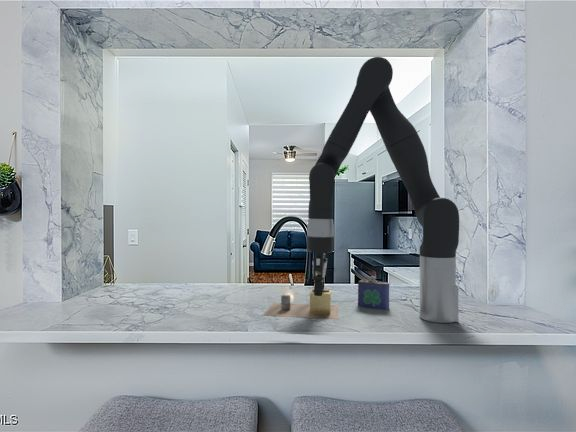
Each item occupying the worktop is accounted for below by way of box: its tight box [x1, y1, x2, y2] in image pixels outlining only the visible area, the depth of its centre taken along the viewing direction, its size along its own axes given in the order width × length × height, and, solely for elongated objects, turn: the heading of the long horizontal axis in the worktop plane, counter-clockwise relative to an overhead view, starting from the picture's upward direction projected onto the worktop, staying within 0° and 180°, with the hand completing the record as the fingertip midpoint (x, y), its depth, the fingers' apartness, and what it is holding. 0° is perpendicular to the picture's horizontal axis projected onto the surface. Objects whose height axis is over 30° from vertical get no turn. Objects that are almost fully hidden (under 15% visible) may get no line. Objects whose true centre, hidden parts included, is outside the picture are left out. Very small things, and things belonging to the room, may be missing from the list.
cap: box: [309, 288, 332, 314], centre depth 99 cm, size 6×6×6 cm
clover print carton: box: [357, 275, 390, 310], centre depth 103 cm, size 9×3×11 cm, turn 63°
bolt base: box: [262, 294, 340, 320], centre depth 99 cm, size 20×14×6 cm
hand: (319, 292), depth 99 cm, fingers open, 8 cm apart
